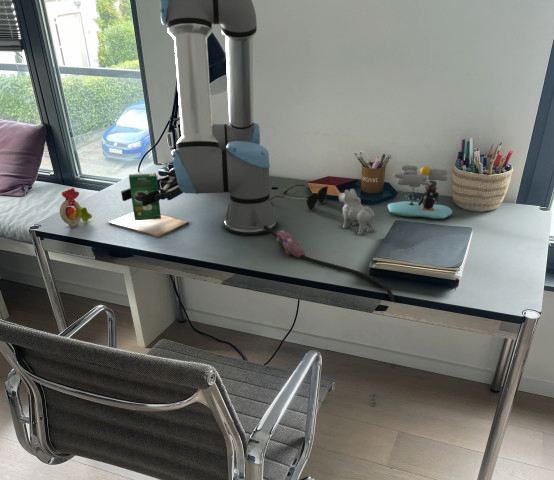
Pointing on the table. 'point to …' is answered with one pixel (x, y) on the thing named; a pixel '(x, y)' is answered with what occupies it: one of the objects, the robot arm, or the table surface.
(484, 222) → the table surface
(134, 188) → the coffee box
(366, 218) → the dog figurine
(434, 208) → the penguin figurine
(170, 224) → the wooden board
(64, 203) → the bird rattle
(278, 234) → the pink animal figurine
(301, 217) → the table surface
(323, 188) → the sunglasses
